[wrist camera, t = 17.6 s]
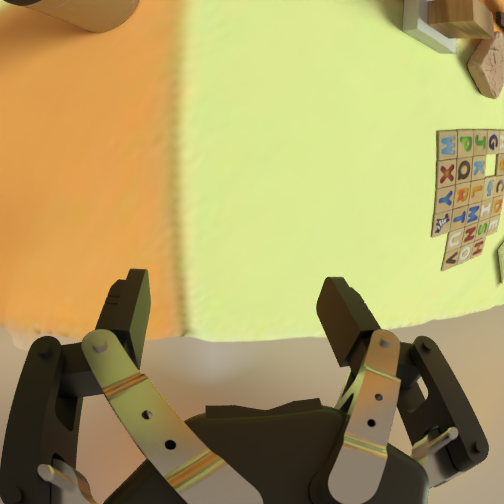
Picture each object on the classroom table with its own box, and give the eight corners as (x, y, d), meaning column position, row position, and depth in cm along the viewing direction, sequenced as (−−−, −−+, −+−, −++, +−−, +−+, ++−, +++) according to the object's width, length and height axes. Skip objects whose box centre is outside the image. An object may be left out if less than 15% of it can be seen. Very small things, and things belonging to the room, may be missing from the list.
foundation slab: (402, 31, 27) (417, 28, 24) (404, -9, 23) (418, -14, 19) (440, 53, 29) (455, 53, 25) (442, 15, 24) (456, 13, 21)
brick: (486, 28, 24) (501, 29, 20) (502, 58, 27) (517, 61, 24) (462, 65, 30) (479, 66, 26) (480, 97, 33) (496, 101, 29)
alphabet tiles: (434, 130, 37) (439, 131, 36) (506, 129, 37) (510, 130, 36) (422, 276, 55) (425, 280, 54) (490, 247, 55) (493, 249, 54)
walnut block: (427, 24, 23) (473, 20, 15) (427, 1, 21) (471, -6, 12) (448, 38, 24) (493, 39, 16) (448, 15, 22) (492, 13, 13)
